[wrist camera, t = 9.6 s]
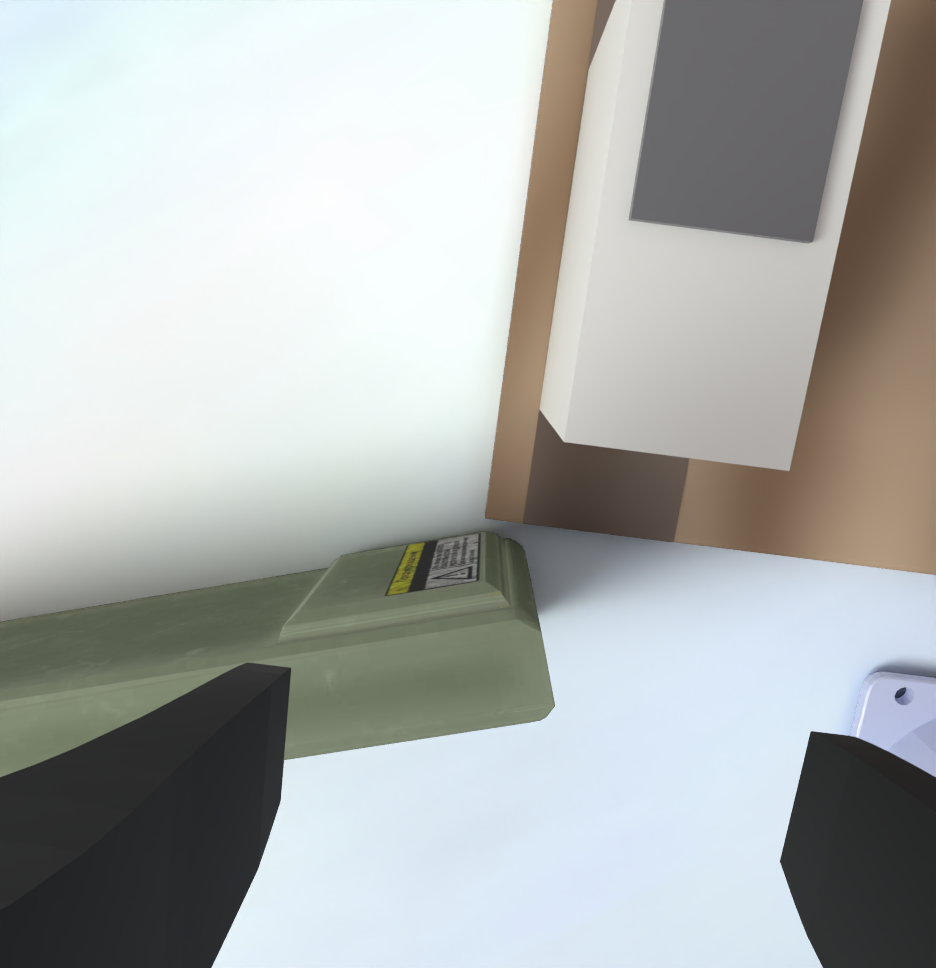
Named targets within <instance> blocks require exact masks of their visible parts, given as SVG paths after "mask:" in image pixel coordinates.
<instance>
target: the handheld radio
mask: <svg viewBox="0 0 936 968" xmlns="http://www.w3.org/2000/svg"><path fill="white" fill-rule="evenodd" d="M247 662H249V663H257V664H265V665H273V666H281V667H290V668H291V678H290V691H289V703H288V715H287V727H286V740H285V752H284V760H287V759H294V758H300V757H307V756H314V755H320V754H327V753H333V752H340V751H346V750H353V749H359V748H366V747H372V746H379V745H385V744H392V743H398V742H405V741H412V740H418V739H425V738H431V737H438V736H444V735H451V734H457V733H464V732H470V731H477V730H483V729H490V728H496V727H503V726H510V725H516V724H523V723H529V722H535V721H540V720H542V719H544V718H546V717H547V716H548V714H549V713H550V712H551V710H552V709H553V708H554V707H555V703H554V698H553V692H552V687H551V682H550V676H549V671H548V666H547V660H546V655H545V649H544V644H543V639H542V633H541V628H540V623H539V618H538V613H537V609H536V604H535V599H534V594H533V589H532V584H531V579H530V574H529V569H528V564H527V559H526V554H525V551H524V549H523V547H522V546H521V545H520V544H518V543H517V542H515V541H514V540H512V539H504V540H503V539H501V537H500V536H499V535H498V534H496V533H491V532H479V533H473V534H467V535H461V536H455V537H449V538H443V539H437V540H431V541H425V542H419V543H413V544H407V545H401V546H395V547H389V548H383V549H377V550H371V551H364V552H358V553H352V554H346V555H341V556H340V557H339V558H338V559H336V560H335V561H334V562H333V563H332V565H331V566H330V567H329V568H325V569H319V570H313V571H306V572H300V573H294V574H288V575H282V576H276V577H270V578H264V579H258V580H252V581H246V582H239V583H233V584H227V585H221V586H215V587H209V588H203V589H197V590H191V591H185V592H178V593H172V594H166V595H160V596H154V597H148V598H142V599H136V600H130V601H124V602H117V603H111V604H105V605H99V606H93V607H87V608H81V609H75V610H69V611H63V612H57V613H51V614H45V615H39V616H32V617H26V618H20V619H14V620H8V621H2V622H0V777H2V776H5V775H8V774H10V773H13V772H16V771H18V770H21V769H24V768H27V767H29V766H32V765H35V764H37V763H40V762H42V761H45V760H47V759H50V758H52V757H55V756H57V755H59V754H62V753H64V752H67V751H69V750H71V749H74V748H76V747H78V746H80V745H82V744H84V743H87V742H89V741H91V740H93V739H95V738H97V737H99V736H102V735H104V734H106V733H108V732H110V731H112V730H114V729H116V728H119V727H121V726H123V725H125V724H127V723H129V722H131V721H133V720H136V719H138V718H140V717H142V716H144V715H146V714H148V713H150V712H152V711H154V710H156V709H157V708H159V707H161V706H163V705H165V704H167V703H169V702H171V701H173V700H175V699H176V698H178V697H180V696H182V695H184V694H186V693H188V692H190V691H192V690H193V689H195V688H197V687H199V686H201V685H203V684H205V683H206V682H208V681H210V680H212V679H214V678H216V677H218V676H219V675H221V674H223V673H225V672H227V671H229V670H231V669H233V668H235V667H237V666H240V665H242V664H245V663H247Z"/></svg>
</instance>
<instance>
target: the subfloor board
mask: <svg viewBox="0 0 936 968" xmlns="http://www.w3.org/2000/svg"><path fill="white" fill-rule="evenodd" d="M615 1H616V0H553V3H552V11H551V18H550V26H549V34H548V41H547V49H546V56H545V64H544V72H543V79H542V87H541V94H540V102H539V110H538V117H537V125H536V132H535V140H534V148H533V155H532V163H531V170H530V178H529V185H528V193H527V201H526V208H525V216H524V223H523V231H522V239H521V246H520V254H519V261H518V269H517V277H516V284H515V292H514V299H513V307H512V314H511V322H510V330H509V337H508V345H507V352H506V360H505V368H504V375H503V383H502V390H501V398H500V406H499V413H498V421H497V428H496V436H495V443H494V451H493V459H492V466H491V474H490V481H489V489H488V497H487V504H486V512H485V518H487V519H494V520H502V521H510V522H518V523H523V524H531V525H539V526H547V527H555V528H563V529H571V530H579V531H587V532H595V533H603V534H611V535H619V536H627V537H635V538H643V539H651V540H659V541H667V542H678V543H686V544H694V545H702V546H710V547H718V548H726V549H734V550H742V551H750V552H758V553H766V554H774V555H781V556H789V557H797V558H805V559H813V560H821V561H829V562H837V563H845V564H853V565H861V566H869V567H877V568H885V569H893V570H901V571H909V572H917V573H925V574H933V575H936V0H891V2H890V7H889V12H888V16H887V21H886V26H885V30H884V35H883V40H882V44H881V49H880V53H879V58H878V63H877V67H876V72H875V77H874V81H873V86H872V90H871V95H870V100H869V104H868V109H867V114H866V118H865V123H864V128H863V132H862V137H861V141H860V146H859V151H858V155H857V160H856V165H855V169H854V174H853V178H852V183H851V188H850V192H849V197H848V202H847V206H846V211H845V216H844V220H843V225H842V229H841V234H840V239H839V243H838V248H837V253H836V257H835V262H834V266H833V271H832V276H831V280H830V285H829V290H828V294H827V299H826V304H825V308H824V313H823V317H822V322H821V327H820V331H819V336H818V341H817V345H816V350H815V354H814V359H813V364H812V368H811V373H810V378H809V382H808V387H807V392H806V396H805V401H804V405H803V410H802V415H801V419H800V424H799V429H798V433H797V438H796V442H795V447H794V452H793V456H792V461H791V466H790V470H789V471H785V470H778V469H770V468H762V467H754V466H746V465H739V464H731V463H723V462H715V461H708V460H700V459H692V458H684V457H676V456H669V455H661V454H653V453H645V452H638V451H630V450H622V449H614V448H606V447H599V446H591V445H583V444H575V443H568V442H564V441H563V440H562V439H561V437H560V436H559V435H558V433H557V432H556V431H555V429H554V428H553V427H552V425H551V424H550V423H549V421H548V420H547V419H546V417H545V416H544V415H543V413H542V412H541V411H540V409H539V408H540V401H541V394H542V387H543V380H544V373H545V367H546V360H547V353H548V346H549V339H550V332H551V325H552V318H553V312H554V305H555V298H556V291H557V284H558V277H559V270H560V263H561V257H562V250H563V243H564V236H565V229H566V222H567V215H568V208H569V201H570V195H571V188H572V181H573V174H574V167H575V160H576V153H577V146H578V140H579V133H580V126H581V119H582V112H583V105H584V98H585V91H586V85H587V78H588V71H589V68H590V65H591V63H592V60H593V57H594V55H595V52H596V50H597V47H598V45H599V42H600V39H601V37H602V34H603V32H604V29H605V27H606V24H607V21H608V19H609V16H610V14H611V11H612V9H613V6H614V3H615Z"/></svg>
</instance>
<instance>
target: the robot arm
mask: <svg viewBox="0 0 936 968" xmlns="http://www.w3.org/2000/svg"><path fill="white" fill-rule="evenodd" d="M290 678H291V668H290V667H281V666H273V665H265V664H257V663H249V662H247V663H245V664H242V665H240V666H237V667H235V668H233V669H231V670H229V671H227V672H225V673H223V674H221V675H219V676H218V677H216V678H214V679H212V680H210V681H208V682H206V683H205V684H203V685H201V686H199V687H197V688H195V689H193V690H192V691H190V692H188V693H186V694H184V695H182V696H180V697H178V698H176V699H175V700H173V701H171V702H169V703H167V704H165V705H163V706H161V707H159V708H157V709H156V710H154V711H152V712H150V713H148V714H146V715H144V716H142V717H140V718H138V719H136V720H133V721H131V722H129V723H127V724H125V725H123V726H121V727H119V728H116V729H114V730H112V731H110V732H108V733H106V734H104V735H102V736H99V737H97V738H95V739H93V740H91V741H89V742H87V743H84V744H82V745H80V746H78V747H76V748H74V749H71V750H69V751H67V752H64V753H62V754H59V755H57V756H55V757H52V758H50V759H47V760H45V761H42V762H40V763H37V764H35V765H32V766H29V767H27V768H24V769H21V770H18V771H16V772H13V773H10V774H8V775H5V776H2V777H0V968H211V967H212V965H213V963H214V961H215V959H216V957H217V955H218V953H219V951H220V949H221V946H222V944H223V942H224V940H225V938H226V936H227V934H228V932H229V930H230V928H231V926H232V923H233V921H234V919H235V917H236V915H237V913H238V911H239V909H240V906H241V904H242V902H243V900H244V898H245V896H246V894H247V892H248V889H249V887H250V885H251V883H252V881H253V879H254V876H255V874H256V872H257V870H258V867H259V864H260V861H261V859H262V856H263V853H264V850H265V847H266V844H267V841H268V838H269V835H270V832H271V829H272V826H273V823H274V820H275V816H276V813H277V810H278V807H279V804H280V801H281V789H282V777H283V764H284V752H285V740H286V727H287V715H288V703H289V691H290ZM905 687H906V692H905V693H904V695H903V696H901V697H900V698H895V694H896V692H897V690H899V689H901V688H905ZM780 863H781V865H782V868H783V871H784V874H785V877H786V880H787V883H788V886H789V889H790V892H791V894H792V897H793V900H794V903H795V906H796V908H797V911H798V913H799V916H800V918H801V921H802V924H803V926H804V929H805V931H806V934H807V936H808V938H809V940H810V942H811V944H812V946H813V948H814V950H815V952H816V954H817V956H818V958H819V960H820V962H821V964H822V966H823V968H936V678H932V677H924V676H916V675H908V674H900V673H892V672H875V673H873V674H871V675H869V676H868V677H867V678H866V679H865V680H864V682H863V684H862V687H861V691H860V695H859V699H858V703H857V707H856V711H855V716H854V720H853V724H852V728H851V732H850V736H845V735H837V734H829V733H821V732H813V731H811V733H810V737H809V741H808V746H807V750H806V754H805V758H804V763H803V767H802V771H801V775H800V779H799V784H798V788H797V792H796V796H795V801H794V805H793V809H792V813H791V817H790V822H789V826H788V830H787V834H786V838H785V843H784V847H783V851H782V855H781V860H780Z"/></svg>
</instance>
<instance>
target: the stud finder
mask: <svg viewBox="0 0 936 968" xmlns="http://www.w3.org/2000/svg"><path fill="white" fill-rule="evenodd" d="M890 2H891V0H616V1H615V3H614V6H613V9H612V11H611V14H610V16H609V19H608V21H607V24H606V27H605V29H604V32H603V34H602V37H601V39H600V42H599V45H598V47H597V50H596V52H595V55H594V57H593V60H592V63H591V65H590V68H589V71H588V78H587V85H586V91H585V98H584V105H583V112H582V119H581V126H580V133H579V140H578V146H577V153H576V160H575V167H574V174H573V181H572V188H571V195H570V201H569V208H568V215H567V222H566V229H565V236H564V243H563V250H562V257H561V263H560V270H559V277H558V284H557V291H556V298H555V305H554V312H553V318H552V325H551V332H550V339H549V346H548V353H547V360H546V367H545V373H544V380H543V387H542V394H541V401H540V408H539V409H540V411H541V412H542V413H543V415H544V416H545V417H546V419H547V420H548V421H549V423H550V424H551V425H552V427H553V428H554V429H555V431H556V432H557V433H558V435H559V436H560V437H561V439H562V440H563V441H564V442H568V443H575V444H583V445H591V446H599V447H606V448H614V449H622V450H630V451H638V452H645V453H653V454H661V455H669V456H676V457H684V458H692V459H700V460H708V461H715V462H723V463H731V464H739V465H746V466H754V467H762V468H770V469H778V470H785V471H789V470H790V466H791V461H792V456H793V452H794V447H795V442H796V438H797V433H798V429H799V424H800V419H801V415H802V410H803V405H804V401H805V396H806V392H807V387H808V382H809V378H810V373H811V368H812V364H813V359H814V354H815V350H816V345H817V341H818V336H819V331H820V327H821V322H822V317H823V313H824V308H825V304H826V299H827V294H828V290H829V285H830V280H831V276H832V271H833V266H834V262H835V257H836V253H837V248H838V243H839V239H840V234H841V229H842V225H843V220H844V216H845V211H846V206H847V202H848V197H849V192H850V188H851V183H852V178H853V174H854V169H855V165H856V160H857V155H858V151H859V146H860V141H861V137H862V132H863V128H864V123H865V118H866V114H867V109H868V104H869V100H870V95H871V90H872V86H873V81H874V77H875V72H876V67H877V63H878V58H879V53H880V49H881V44H882V40H883V35H884V30H885V26H886V21H887V16H888V12H889V7H890Z"/></svg>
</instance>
